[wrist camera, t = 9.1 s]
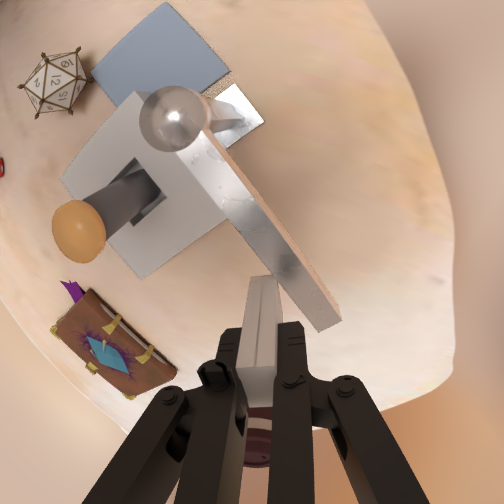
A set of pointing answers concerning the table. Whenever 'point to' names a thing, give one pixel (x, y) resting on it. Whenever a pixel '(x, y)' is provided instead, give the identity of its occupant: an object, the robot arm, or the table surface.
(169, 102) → the silver ball-ended lever
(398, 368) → the table surface
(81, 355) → the book
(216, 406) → the robot arm
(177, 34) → the pad
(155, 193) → the plug
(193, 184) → the socket block
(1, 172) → the toy fire truck
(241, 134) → the post
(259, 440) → the coffee cup
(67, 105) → the game die
